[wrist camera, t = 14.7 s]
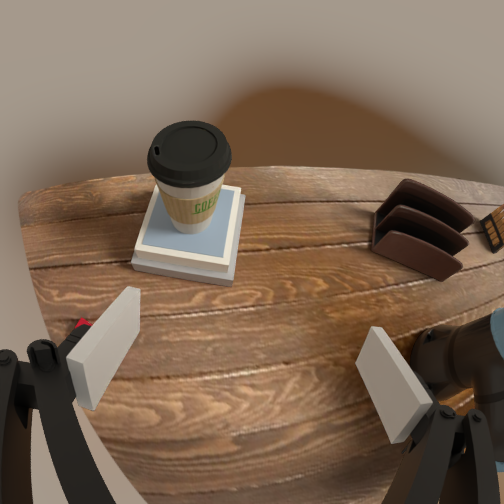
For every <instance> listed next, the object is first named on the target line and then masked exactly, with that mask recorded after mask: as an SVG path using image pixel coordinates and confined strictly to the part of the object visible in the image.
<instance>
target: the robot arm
mask: <svg viewBox="0 0 504 504" xmlns="http://www.w3.org/2000/svg"><path fill="white" fill-rule="evenodd" d="M139 332H140V289H138V288H133V287H129V286H127V288H126V289H125V290H124V291H123V292H122V293H121V294H120V295H119V296H118V297H117V298H116V300H115V301H114V302H113V303H112V304H111V305H110V306H109V307H108V309H107V310H106V311H105V312H104V313H103V314H102V315H101V316H100V318H99V319H98V320H97V321H96V322H95V323H94V324H93V326H89V325H86V324H82V325H80V326H78V327H76V328H75V329H74V330H73V331H72V332H71V333H70V335H68V337H67V338H66V339H65V340H64V341H63V342H62V343H61V344H60V345H59V347H58V348H57V346H56V344H55V343H53V342H52V341H49V340H46V339H45V340H44V339H43V340H41V339H40V340H36V341H34V342H32V343H31V344H30V345H29V346H28V348H27V354H28V357H29V360H30V363H28V362H22V361H18V358H17V356H16V354H15V353H14V352H13V351H11V350H7V349H6V350H0V504H33V499H32V498H33V497H32V486H31V485H32V484H31V426H32V412H33V409H38V410H39V413H40V418H41V422H42V426H43V430H44V434H45V438H46V441H47V445H48V448H49V452H50V455H51V458H52V461H53V464H54V467H55V470H56V473H57V476H58V478H59V481H60V484H61V486H62V489H63V491H64V494H65V496H66V499H67V501H68V503H69V504H116V503H115V501H114V499H113V497H112V496H111V494H110V492H109V490H108V488H107V486H106V484H105V482H104V480H103V478H102V476H101V474H100V472H99V470H98V468H97V466H96V464H95V462H94V459H93V457H92V455H91V452H90V450H89V448H88V445H87V443H86V441H85V438H84V435H83V433H82V430H81V428H80V425H79V422H78V419H77V417H76V414H75V411H74V408H73V405H72V402H73V401H74V399H75V398H76V399H77V402H78V405H79V406H81V407H84V408H86V409H89V410H92V411H94V410H95V408H96V407H97V405H98V403H99V401H100V399H101V397H102V396H103V394H104V392H105V390H106V388H107V387H108V385H109V383H110V381H111V379H112V378H113V376H114V374H115V372H116V371H117V369H118V367H119V365H120V364H121V362H122V360H123V359H124V357H125V355H126V353H127V352H128V350H129V348H130V347H131V345H132V343H133V342H134V340H135V338H136V337H137V335H138V333H139ZM355 364H356V366H357V368H358V370H359V372H360V375H361V377H362V379H363V381H364V383H365V385H366V388H367V390H368V392H369V394H370V396H371V399H372V401H373V403H374V405H375V407H376V410H377V412H378V414H379V417H380V419H381V421H382V423H383V426H384V428H385V430H386V433H387V435H388V437H389V440H390V442H391V444H394V443H400V442H404V441H405V440H406V439H407V437H408V436H409V435H410V434H411V436H412V438H413V439H412V440H411V442H410V443H409V444H408V445H407V446H406V448H405V449H404V450H403V451H402V454H403V453H404V452H405V451H406V453H405V455H404V457H403V460H402V462H401V464H400V467H399V469H398V471H397V473H396V476H395V478H394V480H393V482H392V484H391V486H390V488H389V490H388V492H387V494H386V496H385V498H384V500H383V502H382V504H438V501H439V504H500V492H499V483H498V475H497V472H504V308H498V309H496V310H495V311H494V312H493V313H491V314H489V315H487V316H484V317H482V318H479V319H477V320H474V321H472V322H469V323H467V324H464V325H462V326H452V325H438V326H435V327H432V328H429V329H427V330H426V331H424V332H423V333H422V334H421V335H420V336H419V337H418V339H417V341H416V342H415V344H414V347H413V350H412V354H411V360H410V367H409V365H408V364H407V362H406V361H405V359H404V358H403V357H402V355H401V354H400V352H399V351H398V349H397V348H396V346H395V345H394V344H393V342H392V341H391V339H390V338H389V337H388V335H387V334H386V332H385V331H384V330H383V328H382V327H372V326H371V328H370V331H369V333H368V335H367V338H366V340H365V342H364V345H363V347H362V349H361V352H360V354H359V356H358V358H357V360H356V363H355ZM468 388H473V390H474V401H475V409H471V410H469V412H468V413H467V414H466V416H460V415H457V414H456V412H455V411H454V410H453V409H452V408H450V407H449V406H446V405H440V404H439V402H438V401H444V400H447V399H449V398H451V397H453V396H455V395H456V394H458V393H460V392H462V391H463V390H465V389H468ZM465 448H466V451H465V453H464V449H465ZM439 498H440V499H439Z"/></svg>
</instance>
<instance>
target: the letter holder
mask: <svg viewBox="0 0 504 504" xmlns="http://www.w3.org/2000/svg"><path fill="white" fill-rule="evenodd" d="M474 221H475V219H474V217H473V215H472V214H470V213H469V212H468V211H467V210H466V209H465V208H463V207H462V206H461V205H459V204H458V203H457V202H455V201H454V200H452V199H451V198H449V197H447V196H445V195H444V194H442V193H440V192H438V191H436V190H434V189H432V188H430V187H428V186H426V185H424V184H422V183H419V182H417V181H414V180H412V179H404V180H402V181H401V182H400V183H399V185H398V186H397V187H396V188H395V190H394V191H393V192H392V193H391V194H390V196H389V197H388V198H387V199H386V200H385V202H384V203H383V204H382V205H381V206H380V207H379V209H378V210H377V211H376V212H375V214H374V225H373V235H372V245H371V251H373V252H375V253H377V254H380V255H383V256H385V257H387V258H390V259H392V260H394V261H396V262H399V263H401V264H403V265H406V266H408V267H410V268H412V269H415V270H417V271H419V272H421V273H424V274H426V275H428V276H430V277H433V278H435V279H437V280H439V281H442V282H443V281H444V280H446V279H447V278H449V277H450V276H452V275H453V274H455V273H456V272H458V271H459V270H461V269H462V268H463V265H462V263H461V262H460V261H458V260H457V259H456V258H454V257H453V256H454V255H455V254H457V253H458V252H460V251H461V250H462V249H464V248H465V247H467V246H468V245H469V242H468V240H467V239H466V238H464V237H463V236H462V235H461V234H460V233H461V232H462V231H464V230H465V229H466V228H468V227H469V226H470V225H472V224H473V223H474Z"/></svg>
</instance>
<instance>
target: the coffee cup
mask: <svg viewBox="0 0 504 504" xmlns="http://www.w3.org/2000/svg"><path fill="white" fill-rule="evenodd" d="M231 160H232V155H231V149H230V146H229V144H228V142H227V140H226V138H225V136H224V134H223V133H222V132H221V131H220V130H219V129H218V128H216V127H215V126H213V125H211V124H208V123H205V122H201V121H182V122H178V123H174V124H172V125H169V126H167V127H166V128H164V129H163V130H161V131H160V132H159V133H158V134H157V135H156V136H155V138H154V140H153V142H152V145H151V147H150V149H149V152H148V157H147V164H148V168H149V170H150V172H151V173H152V175H153V176H154V177H155V181H156V184H157V187H158V189H159V192H160V195H161V197H162V200H163V202H164V205H165V208H166V210H167V213H168V214H169V216H170V218H171V221H172V223H173V225H174V227H175V228H176V229H177V230H178V231H180V232H182V233H184V234H198V233H200V232H202V231H204V230H205V229H206V228H207V227H208V226H209V225H210V223H211V220H212V216H213V213H214V211H215V208H216V205H217V201H218V198H219V194H220V191H221V187H222V184H223V180H224V176H225V172H226V171H227V170H228V168H229V166H230V164H231Z"/></svg>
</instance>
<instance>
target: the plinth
mask: <svg viewBox="0 0 504 504" xmlns="http://www.w3.org/2000/svg"><path fill="white" fill-rule="evenodd" d="M240 192H241V188H239V187H233V186H227V185H222V187H221V191H220V194H219V198H218V201H217V205H216V208H215V211H214V213H213V216H212V220H211V223H210V225H209V226H208V227H207V228H206V229H205V230H204V231H202V232H200V233H198V234H184V233H182V232H180V231H178V230H177V229H176V228H175V227H174V225H173V223H172V221H171V218H170V216H169V214H168V213H167V210H166V208H165V205H164V202H163V200H162V197H161V195H160V192H159V189H158V187H157V184H156V186H155V189H154V192H153V195H152V197H151V200H150V203H149V206H148V209H147V212H146V215H145V218H144V221H143V224H142V227H141V230H140V233H139V236H138V239H137V242H136V246H135V249H134V254H133V257H132V260H131V264H132V266H133V268H134V270H136V271H141V272H147V273H152V274H157V275H163V276H169V277H174V278H180V279H186V280H192V281H198V282H204V283H210V284H216V285H222V286H228V287H232V283H233V278H234V271H235V264H236V257H237V250H238V243H239V236H240V229H241V222H242V215H243V209H244V202H245V195H242V194H240Z"/></svg>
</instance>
